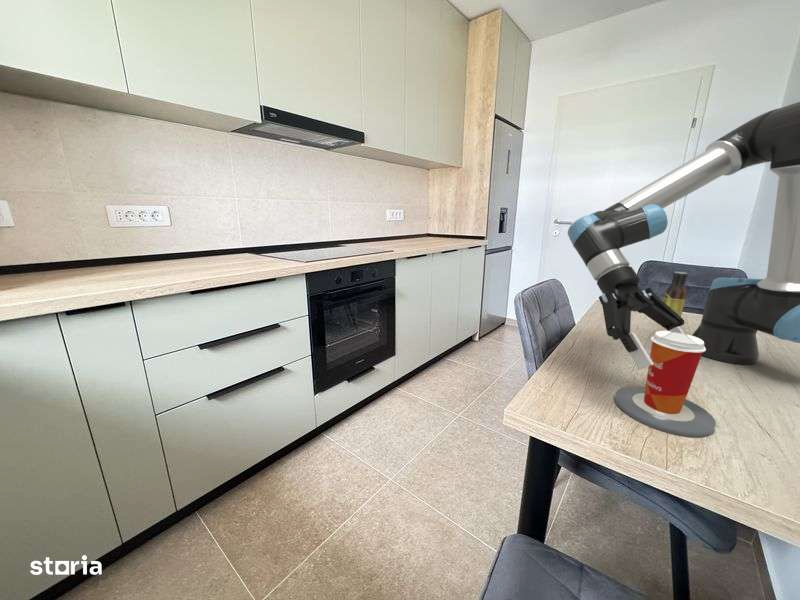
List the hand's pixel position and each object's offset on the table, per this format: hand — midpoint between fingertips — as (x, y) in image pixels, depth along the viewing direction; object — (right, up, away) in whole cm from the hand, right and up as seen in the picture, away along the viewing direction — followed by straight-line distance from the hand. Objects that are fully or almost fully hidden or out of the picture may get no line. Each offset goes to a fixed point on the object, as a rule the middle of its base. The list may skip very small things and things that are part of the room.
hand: (670, 362), depth 64 cm
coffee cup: (0, -10, +2) cm, 10 cm away
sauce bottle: (+51, +3, +61) cm, 80 cm away
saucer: (0, -11, +3) cm, 11 cm away
